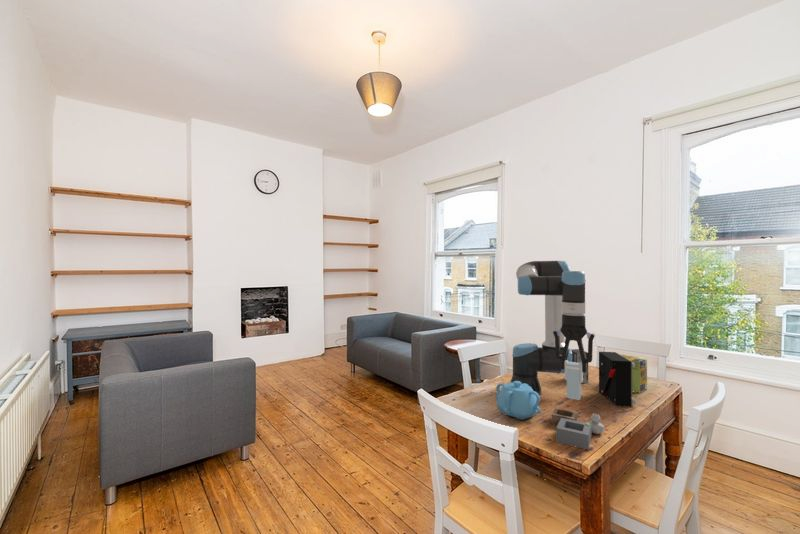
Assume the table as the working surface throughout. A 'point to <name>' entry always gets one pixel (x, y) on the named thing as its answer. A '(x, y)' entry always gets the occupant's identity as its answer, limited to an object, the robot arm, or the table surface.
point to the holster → (563, 415)
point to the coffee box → (577, 358)
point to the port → (573, 433)
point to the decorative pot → (517, 400)
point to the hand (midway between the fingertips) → (573, 379)
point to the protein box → (638, 373)
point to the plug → (573, 380)
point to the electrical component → (616, 378)
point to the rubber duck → (596, 424)
